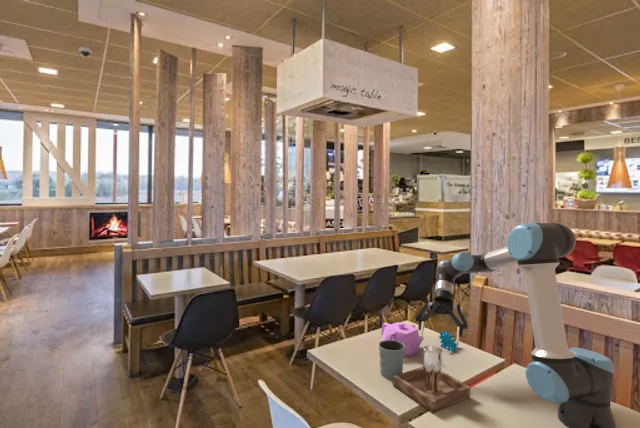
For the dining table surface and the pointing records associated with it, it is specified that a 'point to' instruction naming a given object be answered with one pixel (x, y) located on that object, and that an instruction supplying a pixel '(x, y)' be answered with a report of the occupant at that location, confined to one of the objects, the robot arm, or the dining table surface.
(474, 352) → the dining table surface
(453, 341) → the teal spiky toy
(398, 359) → the grey green cup
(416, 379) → the tray
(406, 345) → the teakettle
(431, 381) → the beer glass
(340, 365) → the dining table surface
